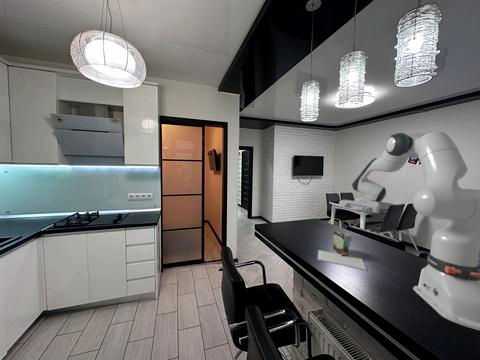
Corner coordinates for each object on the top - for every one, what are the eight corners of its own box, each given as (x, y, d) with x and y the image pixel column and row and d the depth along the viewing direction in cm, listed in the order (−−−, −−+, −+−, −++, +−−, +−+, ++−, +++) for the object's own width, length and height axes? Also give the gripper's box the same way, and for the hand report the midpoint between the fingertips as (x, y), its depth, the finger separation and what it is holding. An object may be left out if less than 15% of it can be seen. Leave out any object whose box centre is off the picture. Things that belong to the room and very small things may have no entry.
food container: (355, 258, 95) (357, 238, 95) (343, 257, 95) (344, 237, 95) (342, 249, 107) (344, 231, 107) (331, 248, 107) (333, 230, 107)
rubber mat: (366, 270, 84) (366, 269, 84) (317, 259, 92) (317, 258, 92) (361, 259, 95) (362, 258, 95) (318, 250, 103) (318, 250, 103)
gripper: (344, 196, 124) (335, 199, 115) (382, 202, 109) (376, 205, 100) (343, 206, 125) (334, 209, 116) (381, 213, 110) (375, 217, 101)
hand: (354, 207), depth 108 cm, fingers open, 8 cm apart
